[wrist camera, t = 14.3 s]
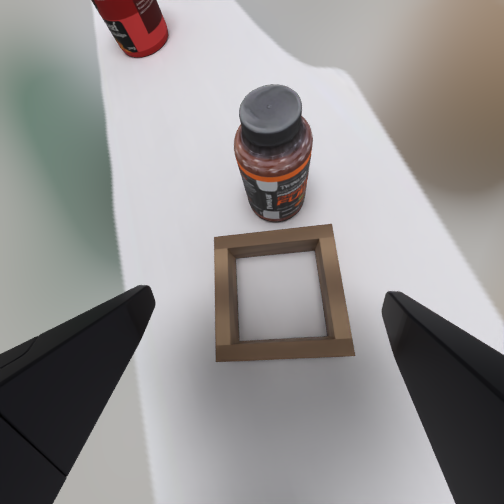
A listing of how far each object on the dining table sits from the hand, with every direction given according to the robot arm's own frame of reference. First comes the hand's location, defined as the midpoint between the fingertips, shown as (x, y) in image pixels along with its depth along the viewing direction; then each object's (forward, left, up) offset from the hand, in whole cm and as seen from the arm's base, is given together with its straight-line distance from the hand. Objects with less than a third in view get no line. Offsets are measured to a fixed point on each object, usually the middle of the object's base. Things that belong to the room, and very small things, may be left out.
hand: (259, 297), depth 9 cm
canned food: (+43, +17, -14) cm, 48 cm away
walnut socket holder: (+2, 0, -14) cm, 14 cm away
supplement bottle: (+12, -1, -14) cm, 18 cm away
